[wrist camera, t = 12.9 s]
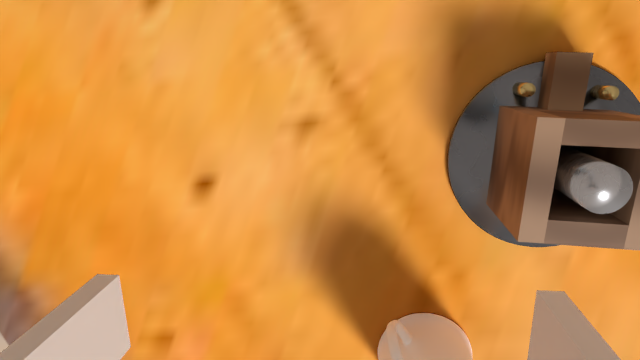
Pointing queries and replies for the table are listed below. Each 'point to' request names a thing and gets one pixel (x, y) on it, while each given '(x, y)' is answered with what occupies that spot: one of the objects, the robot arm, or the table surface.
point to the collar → (543, 154)
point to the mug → (424, 339)
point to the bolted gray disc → (573, 165)
